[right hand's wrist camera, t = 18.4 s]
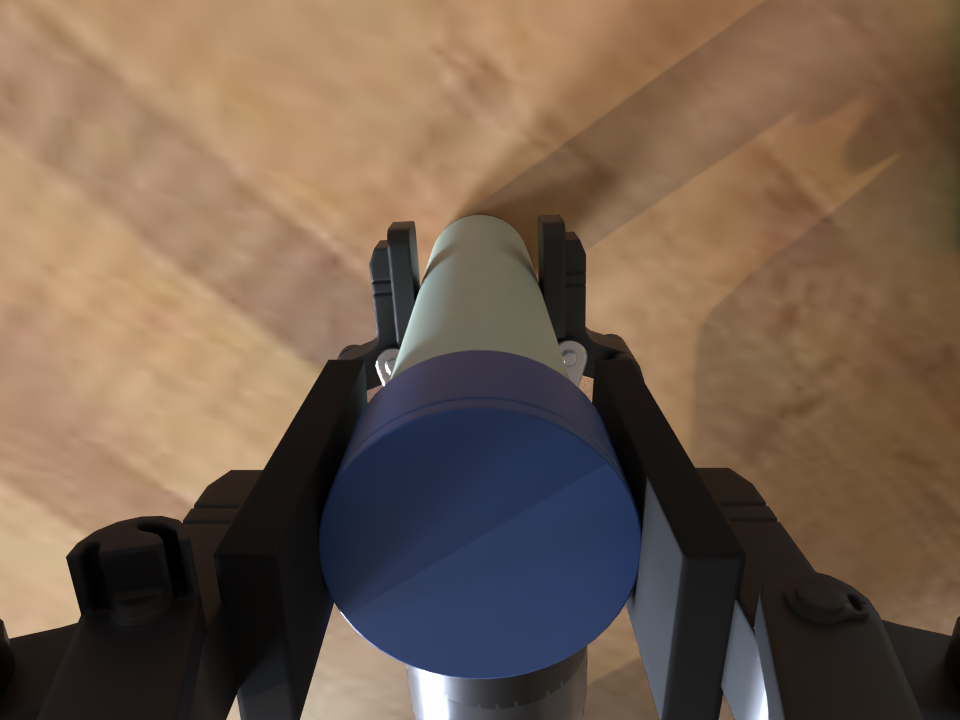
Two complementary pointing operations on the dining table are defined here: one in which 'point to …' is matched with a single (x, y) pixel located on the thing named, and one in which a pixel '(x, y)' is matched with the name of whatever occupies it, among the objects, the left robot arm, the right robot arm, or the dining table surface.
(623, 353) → the left robot arm
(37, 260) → the dining table surface
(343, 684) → the dining table surface
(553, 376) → the lid
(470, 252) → the pale green slim bottle
